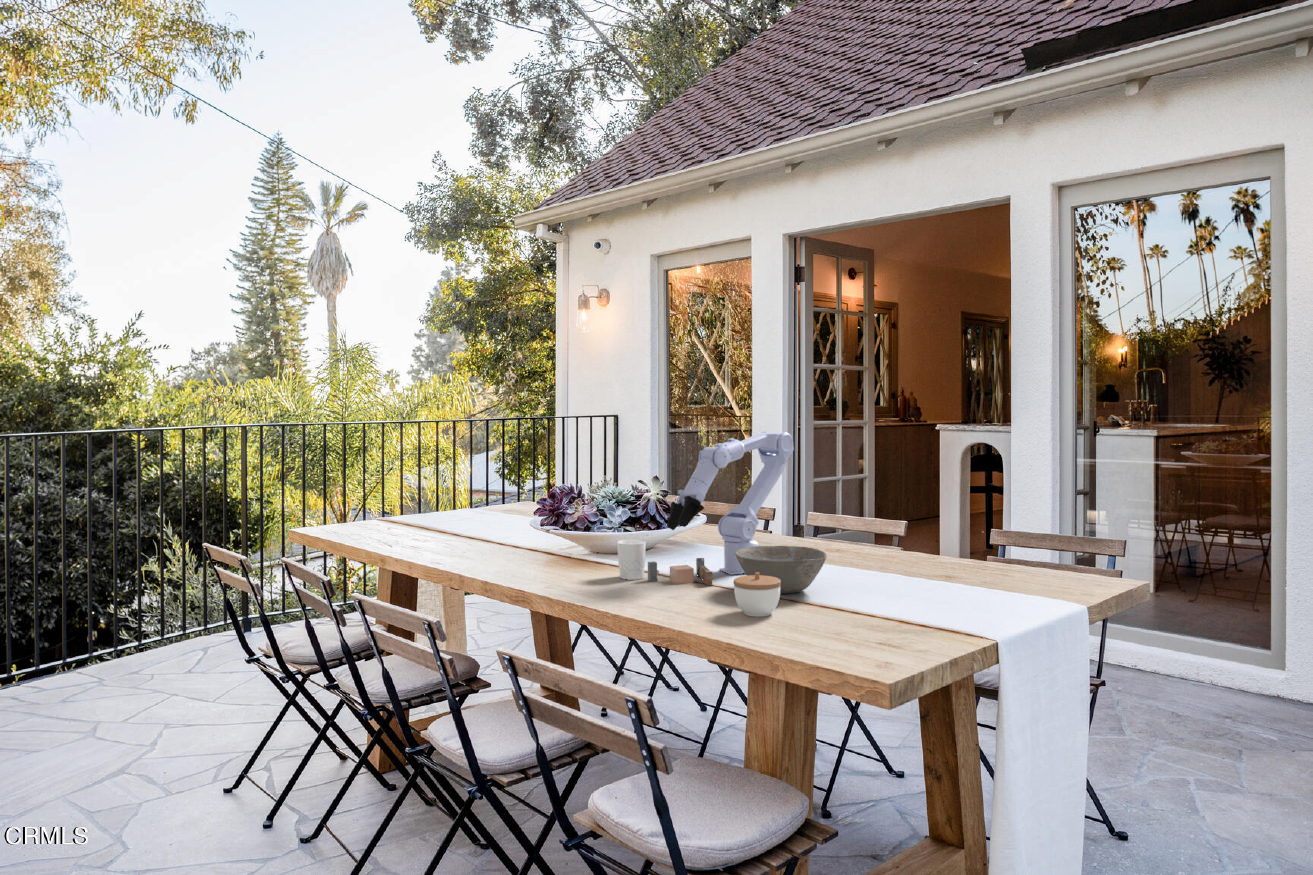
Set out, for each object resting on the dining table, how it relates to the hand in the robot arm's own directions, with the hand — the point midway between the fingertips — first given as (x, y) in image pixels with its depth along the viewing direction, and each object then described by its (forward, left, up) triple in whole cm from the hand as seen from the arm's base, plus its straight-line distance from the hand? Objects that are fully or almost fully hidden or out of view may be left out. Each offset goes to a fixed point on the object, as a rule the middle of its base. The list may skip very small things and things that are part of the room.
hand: (675, 526), depth 227 cm
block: (-2, -3, -16) cm, 16 cm away
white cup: (+9, -13, -16) cm, 22 cm away
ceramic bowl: (-21, +18, -16) cm, 32 cm away
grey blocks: (-2, -7, -15) cm, 17 cm away
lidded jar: (-6, +36, -16) cm, 40 cm away
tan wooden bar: (-8, +1, -15) cm, 17 cm away
